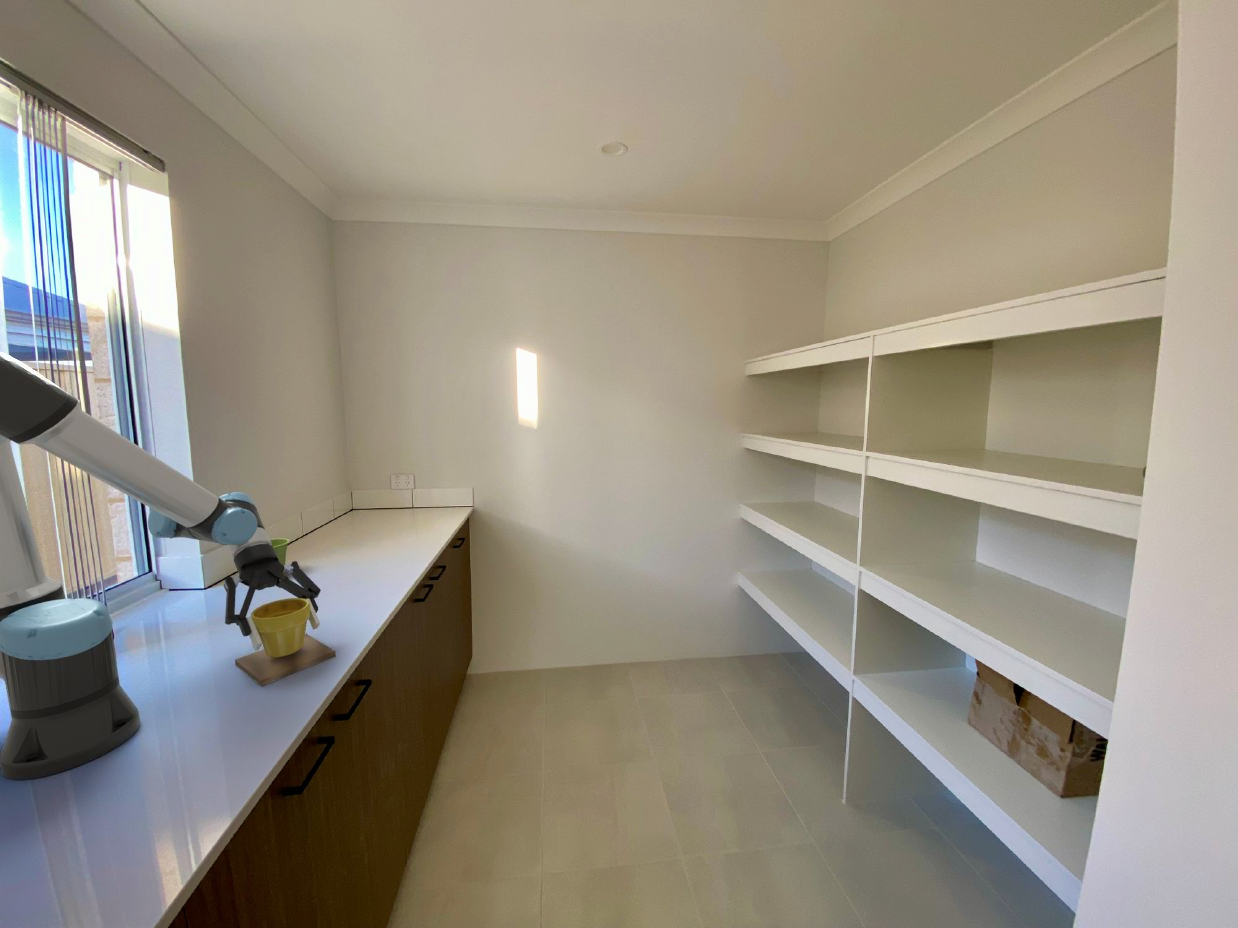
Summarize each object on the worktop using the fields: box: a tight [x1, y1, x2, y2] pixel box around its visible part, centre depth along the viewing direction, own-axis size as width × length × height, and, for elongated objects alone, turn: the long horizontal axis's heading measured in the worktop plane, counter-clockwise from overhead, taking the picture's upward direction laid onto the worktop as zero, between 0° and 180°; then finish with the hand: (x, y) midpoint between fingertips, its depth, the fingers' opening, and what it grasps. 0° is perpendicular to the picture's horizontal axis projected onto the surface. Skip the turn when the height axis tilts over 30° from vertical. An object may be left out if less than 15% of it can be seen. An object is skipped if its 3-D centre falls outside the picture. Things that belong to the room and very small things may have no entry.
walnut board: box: [234, 633, 336, 687], centre depth 105 cm, size 14×14×1 cm
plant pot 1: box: [269, 537, 290, 575], centre depth 155 cm, size 12×12×11 cm
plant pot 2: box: [250, 597, 310, 657], centre depth 104 cm, size 10×10×10 cm
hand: (289, 636), depth 102 cm, fingers closed on plant pot 2, 10 cm apart
